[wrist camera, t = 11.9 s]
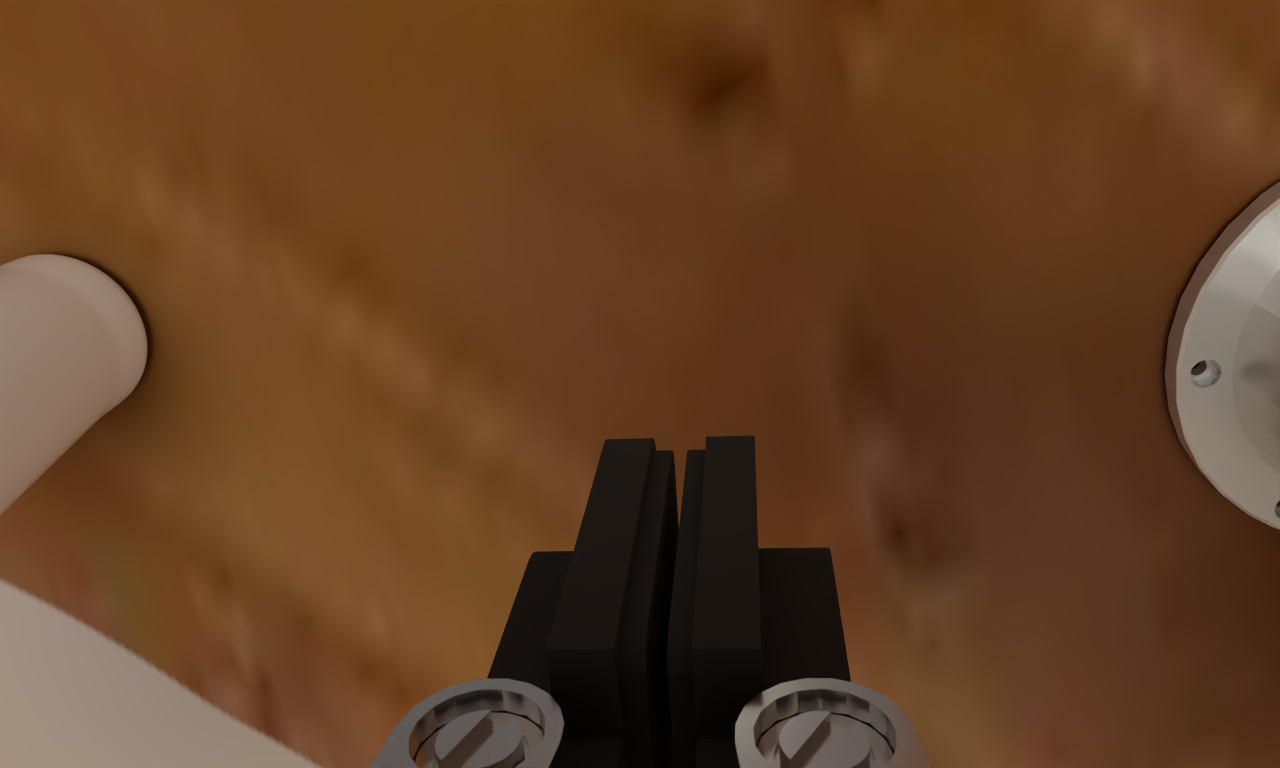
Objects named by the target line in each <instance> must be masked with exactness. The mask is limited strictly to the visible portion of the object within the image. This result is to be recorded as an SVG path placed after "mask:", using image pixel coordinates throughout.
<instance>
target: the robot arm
mask: <svg viewBox="0 0 1280 768" xmlns="http://www.w3.org/2000/svg"><path fill="white" fill-rule="evenodd" d="M1198 362H1200V364H1199V366H1197V367H1196V368H1195V369H1192V368H1193V367H1194V366H1195V365H1196V364H1197V363H1198ZM1165 383H1166V392H1167V400H1168V409H1169V412H1170V415H1171V418H1172V421H1173V424H1174V426H1175V429H1176V432H1177V435H1178V438H1179V440H1180V443H1181V444H1182V446H1183V447H1184V449H1185V450H1186V452H1187V453H1188V455H1189V456H1190V458H1191V460H1192V461H1193V463H1194V464H1195V466H1196V467H1197V469H1198V470H1199V471H1200V472H1201V473H1202V474H1203V475H1204V476H1205V477H1206V478H1207V479H1208V480H1209V481H1210V482H1211V483H1212V485H1213V486H1214V487H1215V488H1216V489H1217V490H1218V491H1219V492H1220V493H1221V494H1222V495H1223V496H1224V497H1226V498H1227V499H1228V500H1230V501H1231V502H1232V503H1234V504H1235V505H1236V506H1238V507H1239V508H1240V509H1242V510H1243V511H1244V512H1245V513H1247V514H1248V515H1250V516H1252V517H1254V518H1256V519H1258V520H1260V521H1262V522H1264V523H1266V524H1268V525H1270V526H1272V527H1274V528H1277V529H1279V530H1280V182H1278V183H1277V184H1275V185H1274V186H1272V187H1271V188H1269V189H1268V190H1267V191H1265V192H1264V193H1262V194H1261V195H1260V196H1259V197H1258V198H1257V199H1256V200H1255V201H1253V202H1252V203H1251V204H1250V205H1249V206H1248V207H1247V208H1246V209H1245V210H1244V211H1243V212H1242V213H1241V214H1240V215H1239V216H1238V217H1237V218H1236V219H1234V220H1233V221H1232V222H1231V223H1230V224H1229V225H1228V226H1227V227H1226V229H1225V230H1224V231H1223V233H1222V234H1221V235H1220V236H1219V238H1218V239H1217V240H1216V242H1215V243H1214V244H1213V246H1212V247H1211V248H1210V250H1209V251H1208V252H1207V253H1206V255H1205V256H1204V257H1203V259H1202V260H1201V261H1200V263H1199V265H1198V267H1197V269H1196V271H1195V272H1194V274H1193V276H1192V278H1191V280H1190V282H1189V284H1188V286H1187V288H1186V290H1185V291H1184V293H1183V295H1182V297H1181V299H1180V302H1179V305H1178V308H1177V312H1176V315H1175V318H1174V321H1173V324H1172V328H1171V331H1170V334H1169V337H1168V346H1167V356H1166V366H1165ZM369 768H933V767H932V765H931V763H930V761H929V759H928V756H927V754H926V752H925V750H924V748H923V745H922V743H921V741H920V739H919V737H918V735H917V732H916V730H915V728H914V726H913V724H912V723H911V721H910V720H909V719H908V717H907V716H906V714H905V713H904V712H903V710H902V709H901V708H900V707H899V706H898V705H896V704H895V703H894V702H892V701H891V700H890V699H888V698H887V697H886V696H884V695H883V694H882V693H879V692H877V691H875V690H872V689H870V688H868V687H865V686H863V685H861V684H858V683H853V682H851V679H850V673H849V666H848V660H847V653H846V647H845V640H844V634H843V628H842V621H841V615H840V608H839V602H838V595H837V589H836V583H835V576H834V570H833V563H832V557H831V552H830V548H762V549H758V531H757V500H756V468H755V437H754V436H724V437H706V448H705V450H688V451H687V460H686V469H685V479H684V488H683V497H682V506H681V516H680V525H679V526H678V510H677V494H676V478H675V462H674V453H673V451H672V450H671V451H656V445H655V441H654V439H653V438H646V439H608V440H605V442H604V446H603V449H602V453H601V456H600V460H599V463H598V467H597V470H596V474H595V477H594V481H593V485H592V488H591V492H590V495H589V499H588V502H587V506H586V509H585V513H584V516H583V520H582V523H581V527H580V530H579V534H578V538H577V541H576V545H575V548H574V551H554V552H534V553H532V555H531V557H530V559H529V562H528V564H527V567H526V570H525V573H524V576H523V579H522V581H521V584H520V587H519V590H518V593H517V595H516V598H515V601H514V604H513V607H512V610H511V612H510V615H509V618H508V621H507V624H506V627H505V629H504V632H503V635H502V638H501V641H500V644H499V646H498V649H497V652H496V655H495V658H494V660H493V663H492V666H491V669H490V672H489V675H488V677H487V679H479V680H474V681H469V682H464V683H459V684H456V685H453V686H451V687H449V688H446V689H444V690H441V691H439V692H436V693H434V694H432V695H431V696H429V697H428V698H426V699H425V700H423V701H422V702H420V703H419V704H417V705H416V706H414V707H413V708H412V709H411V710H410V711H409V712H408V713H407V714H406V715H405V717H404V718H403V719H402V720H401V721H400V722H399V723H398V724H397V726H396V727H395V729H394V730H393V732H392V733H391V735H390V736H389V738H388V739H387V741H386V742H385V744H384V745H383V747H382V748H381V750H380V751H379V753H378V754H377V756H376V757H375V759H374V760H373V762H372V763H371V765H370V766H369Z"/></svg>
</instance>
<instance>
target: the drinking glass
mask: <svg viewBox="0 0 1280 768" xmlns="http://www.w3.org/2000/svg"><path fill="white" fill-rule="evenodd" d="M147 350H148V346H147V336H146V331H145V328H144V324H143V321H142V319H141V316H140V314H139V312H138V310H137V308H136V306H135V305H134V303H133V301H132V300H131V299H130V297H129V296H128V294H127V293H126V292H125V291H124V290H123V289H122V288H121V287H120V286H119V285H118V284H117V283H116V282H115V281H114V280H113V279H112V278H111V277H109V276H108V275H107V274H105V273H104V272H102V271H101V270H99V269H97V268H96V267H94V266H92V265H90V264H88V263H86V262H83V261H81V260H78V259H75V258H72V257H67V256H63V255H55V254H36V255H29V256H24V257H21V258H18V259H14V260H12V261H9V262H7V263H5V264H2V265H0V516H1V515H2V514H3V513H4V512H5V511H6V510H7V509H8V508H9V507H10V506H11V505H12V504H13V503H14V502H15V501H16V500H17V499H18V498H19V497H20V496H21V495H22V494H23V493H24V492H25V491H26V490H27V489H28V488H29V487H30V486H31V485H33V484H34V483H35V482H36V481H37V480H38V479H39V478H40V477H41V476H42V475H43V474H44V473H45V472H46V471H47V470H48V469H49V468H50V467H51V466H52V465H53V464H54V463H55V462H56V461H57V460H58V459H59V458H60V457H61V456H62V455H63V454H64V453H65V452H66V451H67V450H68V449H69V448H70V447H71V446H72V445H73V444H74V443H75V442H76V441H77V440H78V439H79V438H80V437H81V436H82V435H83V434H84V433H85V432H87V431H88V430H89V429H90V428H91V427H92V426H93V425H94V424H95V423H96V422H97V421H98V420H99V419H100V418H102V417H103V416H104V415H106V414H107V413H108V412H110V411H111V410H112V409H113V408H115V407H116V406H117V405H119V404H120V403H121V402H122V401H123V400H124V399H126V398H127V397H128V396H129V395H130V393H131V392H132V391H133V390H134V389H135V387H136V386H137V384H138V383H139V381H140V379H141V377H142V374H143V372H144V369H145V365H146V361H147Z"/></svg>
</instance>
